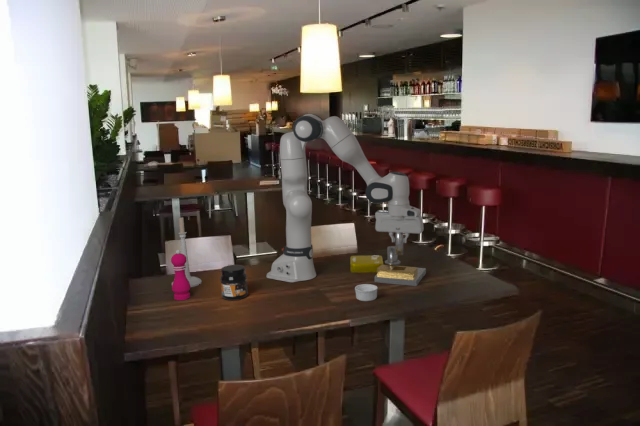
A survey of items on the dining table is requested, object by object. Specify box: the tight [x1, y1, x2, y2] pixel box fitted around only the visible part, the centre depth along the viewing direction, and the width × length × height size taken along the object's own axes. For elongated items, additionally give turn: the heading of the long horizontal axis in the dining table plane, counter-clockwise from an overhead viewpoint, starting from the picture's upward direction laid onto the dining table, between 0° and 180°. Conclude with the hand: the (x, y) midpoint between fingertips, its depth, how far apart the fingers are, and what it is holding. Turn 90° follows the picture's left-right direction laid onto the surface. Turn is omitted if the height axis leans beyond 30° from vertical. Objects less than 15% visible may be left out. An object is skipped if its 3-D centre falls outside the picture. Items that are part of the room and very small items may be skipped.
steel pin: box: [394, 228, 404, 256], centre depth 223 cm, size 4×4×12 cm
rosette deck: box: [373, 245, 427, 287], centre depth 226 cm, size 18×18×12 cm
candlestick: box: [171, 216, 202, 288], centre depth 228 cm, size 13×13×30 cm
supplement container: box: [219, 264, 249, 301], centre depth 210 cm, size 10×10×12 cm
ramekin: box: [354, 283, 378, 302], centre depth 204 cm, size 9×9×4 cm
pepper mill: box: [170, 249, 191, 301], centre depth 210 cm, size 7×7×20 cm
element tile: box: [349, 254, 384, 274], centre depth 244 cm, size 15×15×5 cm
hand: (399, 242), depth 223 cm, fingers closed on steel pin, 3 cm apart
